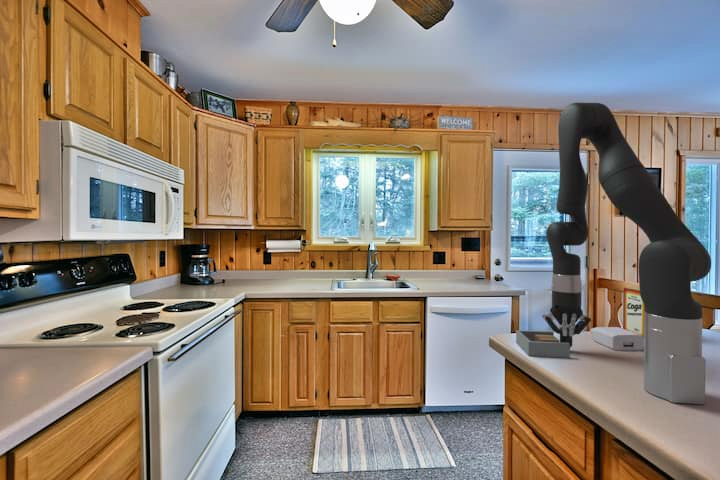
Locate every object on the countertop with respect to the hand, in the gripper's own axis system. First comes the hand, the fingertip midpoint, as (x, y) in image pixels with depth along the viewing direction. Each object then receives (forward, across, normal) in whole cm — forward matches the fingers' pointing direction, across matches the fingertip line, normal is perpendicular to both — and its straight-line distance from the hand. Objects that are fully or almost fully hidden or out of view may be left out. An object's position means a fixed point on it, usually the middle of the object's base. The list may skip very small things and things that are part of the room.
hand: (566, 347), depth 101 cm
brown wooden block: (+1, -5, 0) cm, 5 cm away
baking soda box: (+1, +33, +20) cm, 38 cm away
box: (+1, -6, 0) cm, 7 cm away
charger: (+1, +18, +11) cm, 21 cm away
